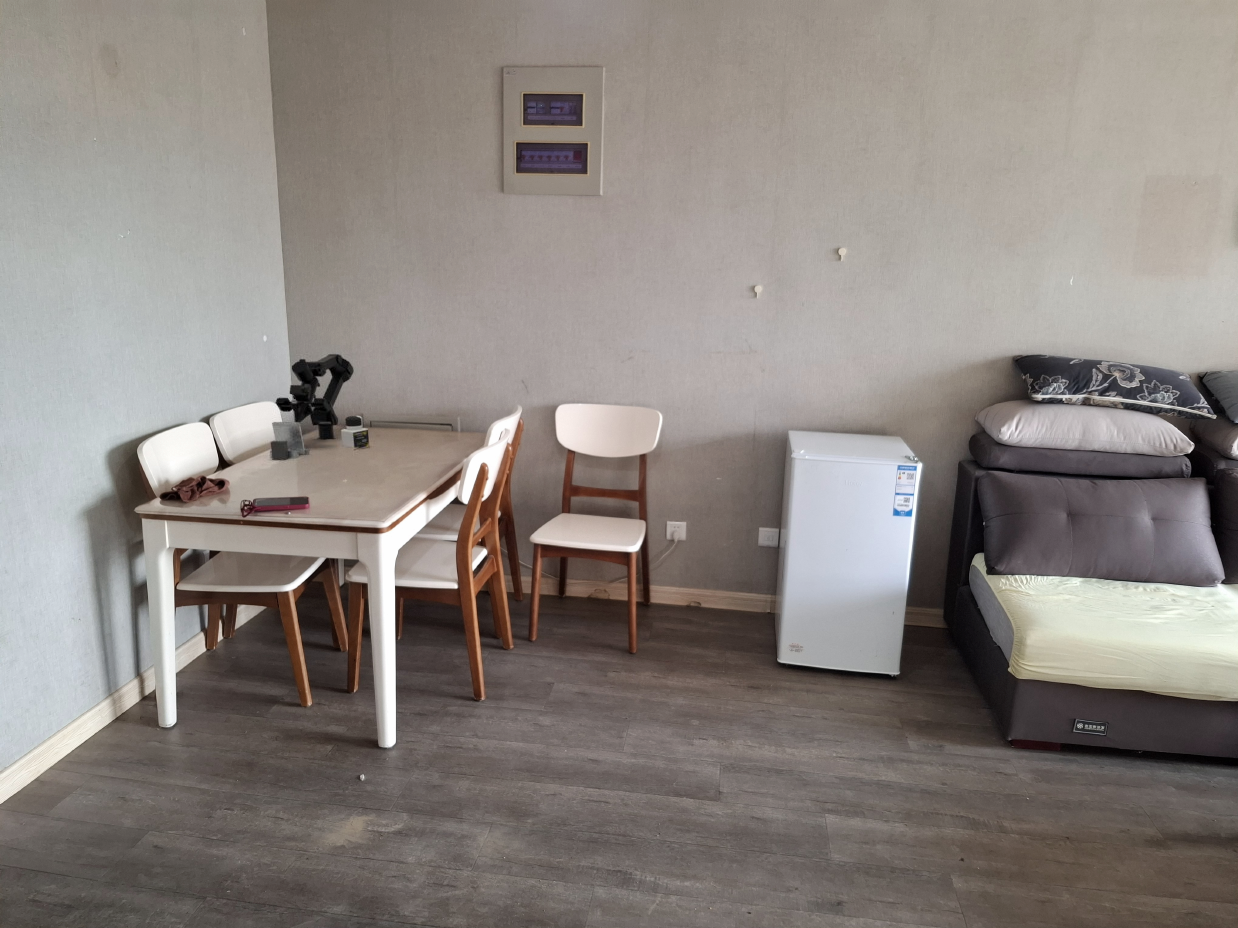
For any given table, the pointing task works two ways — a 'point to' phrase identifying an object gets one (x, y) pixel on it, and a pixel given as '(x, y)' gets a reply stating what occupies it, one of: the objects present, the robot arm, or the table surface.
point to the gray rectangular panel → (289, 435)
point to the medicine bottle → (355, 433)
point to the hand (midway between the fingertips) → (296, 423)
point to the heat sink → (283, 451)
